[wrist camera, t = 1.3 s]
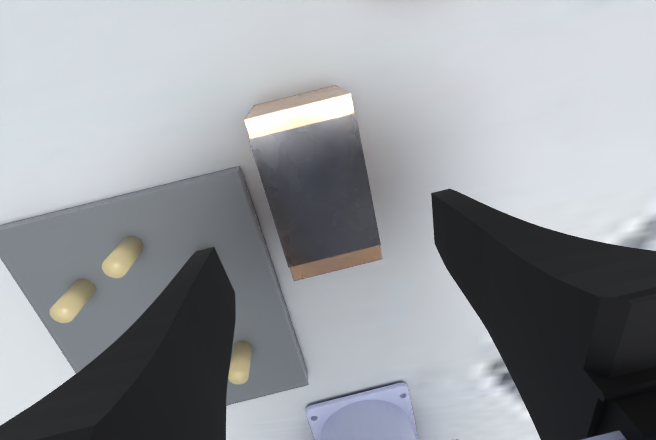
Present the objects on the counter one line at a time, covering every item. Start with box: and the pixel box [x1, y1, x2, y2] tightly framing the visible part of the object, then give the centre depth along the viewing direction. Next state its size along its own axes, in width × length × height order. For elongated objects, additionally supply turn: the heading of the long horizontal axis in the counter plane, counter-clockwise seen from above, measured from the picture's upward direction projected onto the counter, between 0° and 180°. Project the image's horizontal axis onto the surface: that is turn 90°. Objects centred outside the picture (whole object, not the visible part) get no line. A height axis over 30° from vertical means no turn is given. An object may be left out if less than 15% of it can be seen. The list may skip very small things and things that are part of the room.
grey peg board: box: [0, 166, 308, 406], centre depth 23 cm, size 16×14×4 cm
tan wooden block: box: [244, 86, 382, 281], centre depth 20 cm, size 8×5×6 cm, turn 13°
